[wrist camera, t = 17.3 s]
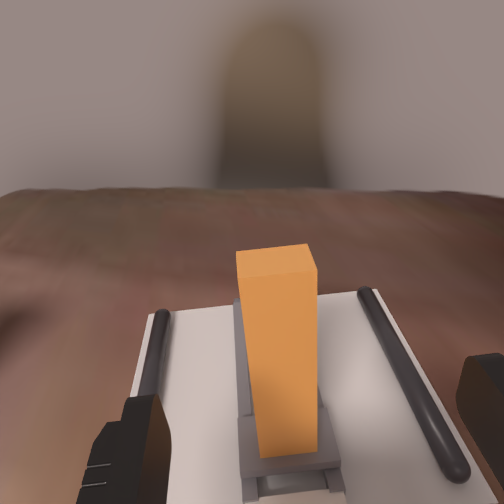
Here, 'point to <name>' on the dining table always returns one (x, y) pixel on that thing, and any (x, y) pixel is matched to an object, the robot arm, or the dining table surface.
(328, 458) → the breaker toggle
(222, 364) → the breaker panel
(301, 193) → the dining table surface
